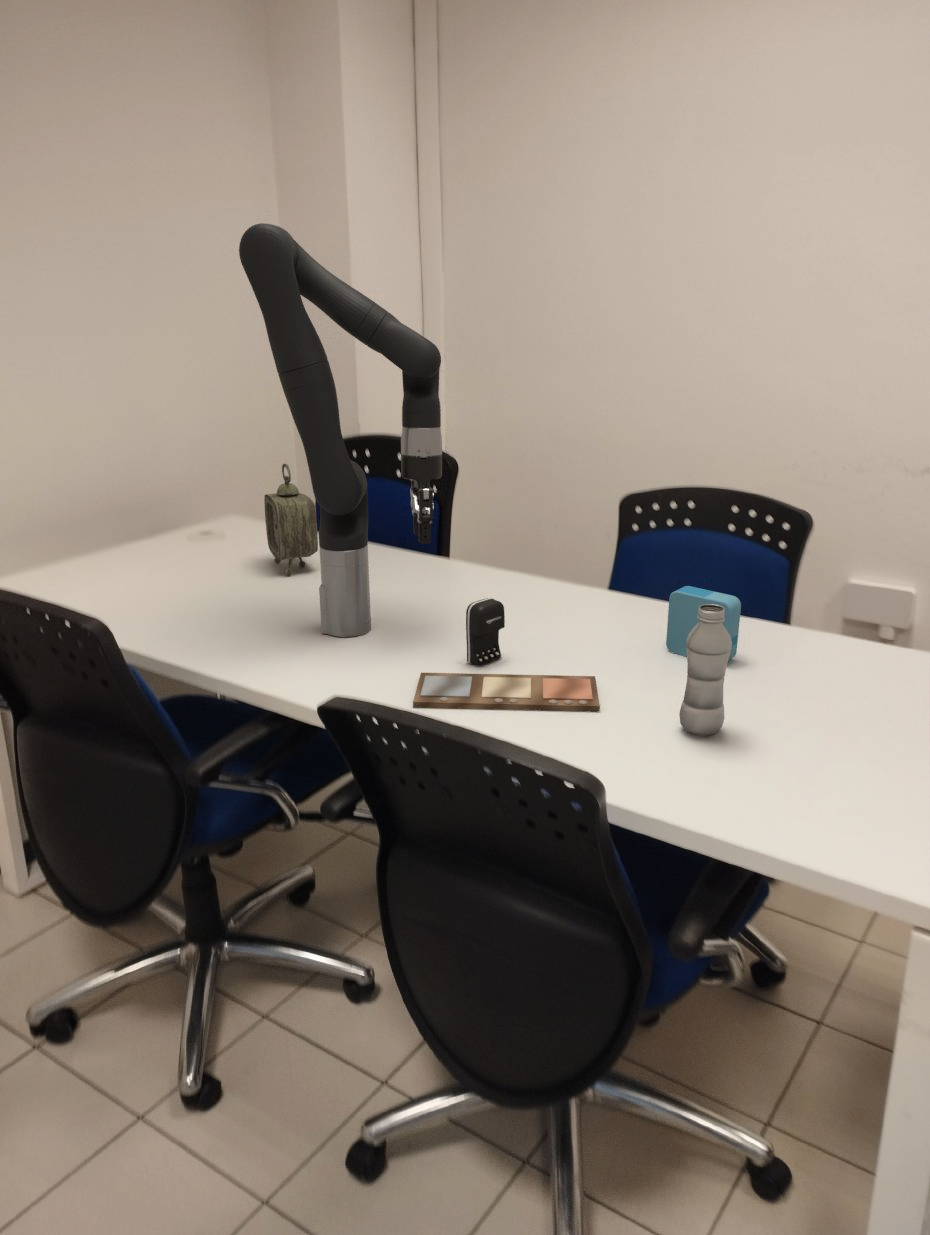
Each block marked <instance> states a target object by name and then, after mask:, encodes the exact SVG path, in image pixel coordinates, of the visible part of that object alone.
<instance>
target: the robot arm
mask: <svg viewBox="0 0 930 1235" xmlns="http://www.w3.org/2000/svg"><path fill="white" fill-rule="evenodd" d="M238 253H239V254H238V255H239V256H238V257H239V260H240V263H241V265H242V266H241V267H242V269H243V270H244V272H245V275H246V276H247V279H248V281H249V283H250V286H251V289H252V291H253V294H254V296H255V298H256V301H257V303H258V306H259V309H260V311H261V314H262V317H263V321H264V325H265V329H266V333H267V338H268V342H269V346H270V349H271V353H272V357H273V361H274V364H275V365H274V366H275V368H276V372H277V375H278V378H279V382H280V384H281V387H282V390H283V393H284V397H285V399H286V402H287V405H288V408H289V410H290V413H291V416H292V419H293V421H294V425H295V427H296V430H297V432H298V435H299V436H300V440H301V443H302V446H303V449H304V452H305V458H306V462H307V467H308V471H309V476H310V482H311V487H312V492H313V496H314V498H315V500H316V502H317V504H318V505H319V512H320V513H319V517H320V518H319V529H318V548H319V561H320V577H321V578H320V580H321V584H320V585H319V587H318V588H319V589H318V593H319V609H320V625H321V626H320V627H321V634H322V635H324V634H325V635H329V636H334V637H342V638H347V637H356V636H362V635H365V634H366V633H369V632H370V631H371V629H372V616H371V613H372V612H371V592H370V591H371V590H370V589H371V588H370V567H369V563H370V562H369V547H368V546H369V544H368V543H369V540H368V539H369V538H368V537H369V536H368V534H369V498H368V497H369V494H368V481H367V477H366V474H365V471H364V470H363V469H362V467H361V466H360V465H359V464H358V463H357V462H355V461H353V460H352V459H351V458H350V455H349V453H348V450H347V447H346V445H345V441H344V437H343V435H342V430H341V419H340V409H339V402H338V394H337V389H336V384H335V380H334V376H333V372H332V368H331V366H330V361H329V359H328V356H327V353H326V350H325V347H324V345H323V342H322V341H321V338H320V337H319V335H318V334H319V333H318V332H317V330H316V328H315V326H314V324H313V322H312V320H311V318H310V317H309V314H308V312H307V309H306V308H305V305H304V302H303V299H302V297H304V298H305V299H306V300H308V301H309V302H310V303H312V304H313V305H315V306H316V307H317V308H318V309H319V310H321V312H323V313H324V315H326V316H327V317H328V318H330V320H332V321H333V322H334V323H335V324H336V325H338V326H339V327H340V328H341V329H343V330H344V331H345V332H346V333H348V334H349V335H350V336H352V337H353V338H355V339H356V340H358V341H359V342H360V343H362V344H364V345H365V346H366V347H368V348H370V349H371V350H372V351H374V352H376V353H379V354H380V355H382V356H383V357H384V358H386V359H387V360H388V361H390V363H392V364H393V365H394V366H396V367H397V368H399V369H400V370H401V375H402V376H401V377H402V389H403V390H402V392H403V398H402V406H401V424H402V425H401V426H402V429H401V436H400V461H401V463H400V464H401V465H400V466H401V468H400V469H401V473H400V474H401V475H400V476H401V477H402V478H403V479H405V480H410V481H411V482H410V485H411V487H410V489H409V490H410V491H409V493H410V494H409V495H410V509H411V514H412V517H413V535H415V536H418V543H419V544H421V545H428V544H431V541H432V526H431V525H432V524H433V521H434V519H435V517H434V495H435V494H434V488H433V487H431V485H430V484H431V483H430V481H431V480H439V479H441V478H442V476H443V437H442V431H441V430H442V429H441V427H442V424H441V418H442V417H441V414H442V413H441V401H440V394H439V392H440V390H439V389H440V368H441V364H442V356H441V352H440V350H439V348H438V346H436V344H434V342H432V341H431V340H429V339H428V338H427V337H424V336H423V335H422V334H421V333H419V332H417V331H415V330H414V329H412V328H411V327H408V326H407V325H406V324H404V323H402V322H401V321H400V320H399V319H398V318H397V317H395V316H394V315H393V314H392V313H390V312H389V311H388V310H386V309H385V308H384V307H382V306H381V305H379V304H378V303H376V302H375V301H374V300H372V299H371V298H370V297H368V296H366V295H365V294H363V293H362V292H360V291H359V290H357V289H356V288H354V287H353V286H351V285H349V284H348V283H346V282H345V281H343V280H342V279H340V278H338V277H337V276H336V275H335V274H333V273H332V272H330V271H329V270H328V269H326V268H325V267H324V266H323V265H322V264H320V262H318V261H317V260H316V259H314V257H312V256H311V254H309V253H308V252H307V251H306V250H305V249H304V248H303V247H302V246H301V245H300V244H299V243H298V242H297V241H296V240H295V239H294V238H293V236H292V235H291V234H290V233H289V232H288V231H287V230H286V229H284V228H283V227H280V226H278V225H275V224H272V223H271V224H270V223H264V222H263V223H257V224H256V223H255V224H254V225H251V226H249V227H248V228H247V229H246V230H245V231H244V233H243V234H242V236H241V238H240V241H239V246H238Z"/></svg>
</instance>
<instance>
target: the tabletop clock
mask: <svg viewBox="0 0 930 1235" xmlns="http://www.w3.org/2000/svg"><path fill="white" fill-rule="evenodd" d="M285 469H286V471H287V474H288V475H286V474H285ZM281 472H282V474H281V475H282V478H283V480H284V483H282V484H280V485H278V488H277V490H276V493H267V494H264V518H265V519H264V520H265V528H266V538H267V545H268V549H269V552H270V553H271V554H272V556H273V557H274V560H273V561H274V563H275V564H277V565H279V564H280V563H281V562H282V560H283V561H285V560H288V564H287V568H286V569H285V570H284V575H285V576H287V577H289V576H291V575H292V572H293V571H292V570H291V566H292V563H294V560H295V559H298V560H299V563H298V566H299V568H301V569H302V568H305V567H306V564H307V563H306V562H305V561H304V560H303V558H310V557H311V556H313V555H314V554H316V553H317V552H318V551H319V549H318V548H319V534H318V520H317V510H316V509H317V508H316V505H315V502H314V500H312V499H311V497H310V496H308V495H306V494H305V493H301V492H300V490H299V489H298V487H297V485H295V484H293V483H290V482H291V480H292V479H291V477H292V475H291V474H292V473H291V469H290V466H289V465H288V464H287V463H282V465H281Z"/></svg>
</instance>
